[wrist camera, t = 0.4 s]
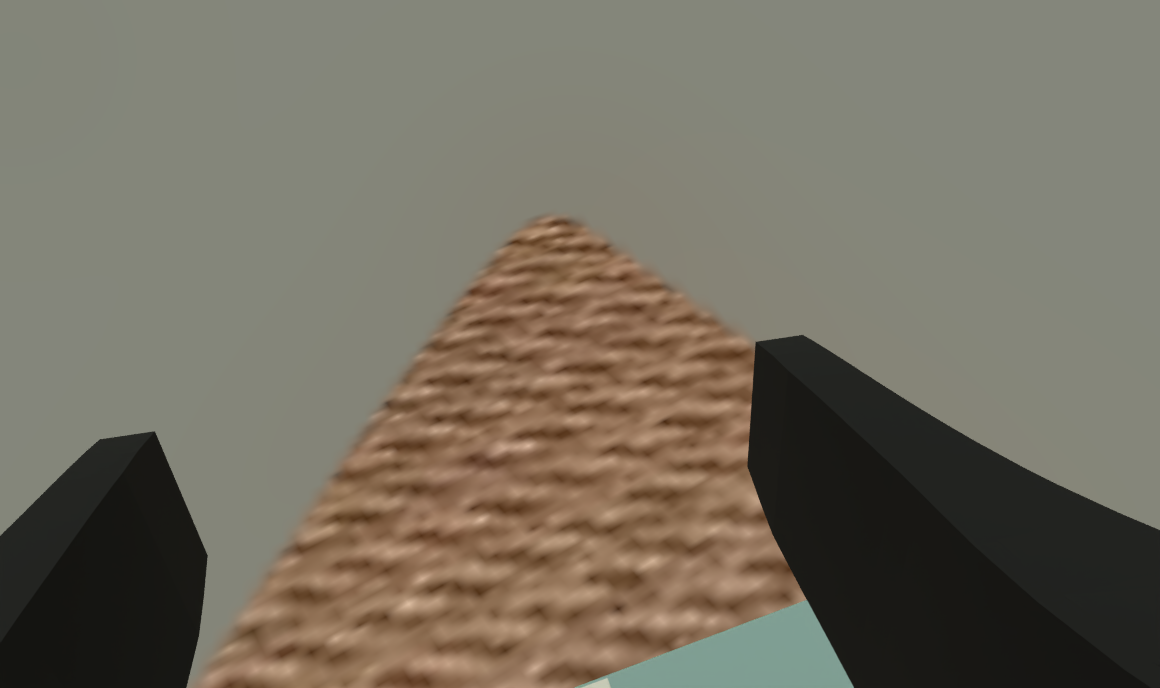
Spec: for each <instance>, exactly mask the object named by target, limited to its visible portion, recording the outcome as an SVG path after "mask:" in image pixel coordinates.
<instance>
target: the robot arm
mask: <svg viewBox="0 0 1160 688" xmlns="http://www.w3.org/2000/svg"><path fill="white" fill-rule="evenodd" d="M748 469H749V472H750V475H751V477H752V480H753V483H754V486H755V489H756V491H757V494H758V497H759V500H760V503H761V505H762V508H763V510H764V513H765V516H766V518H767V521H768V523H769V526H770V529H771V531H772V534H773V536H774V538H775V540H776V542H777V544H778V546H779V548H780V550H781V552H782V553H783V555H784V557H785V559H786V561H787V563H788V565H789V567H790V569H791V571H792V573H793V574H794V576H795V578H796V580H797V582H798V584H799V586H800V588H801V590H802V591H803V593H804V595H805V597H806V599H807V601H808V603H809V605H810V606H811V608H812V610H813V612H814V614H815V616H816V618H817V620H818V621H819V623H820V625H821V627H822V629H823V631H824V633H825V634H826V636H827V638H828V640H829V642H830V644H831V646H832V648H833V649H834V651H835V653H836V655H837V657H838V659H839V661H840V663H841V664H842V666H843V668H844V670H845V672H846V674H847V676H848V677H849V679H850V681H851V683H852V685H853V687H854V688H1160V530H1158V529H1156V528H1153V527H1151V526H1149V525H1146V524H1144V523H1141V522H1139V521H1137V520H1134V519H1132V518H1129V517H1127V516H1125V515H1122V514H1120V513H1117V512H1116V511H1113V510H1111V509H1109V508H1107V507H1105V506H1103V505H1100V504H1098V503H1096V502H1094V501H1092V500H1090V499H1087V498H1085V497H1083V496H1081V495H1079V494H1076V493H1074V492H1072V491H1070V490H1068V489H1066V488H1064V487H1062V486H1059V485H1057V484H1055V483H1053V482H1051V481H1049V480H1047V479H1045V478H1043V477H1041V476H1039V475H1037V474H1035V473H1033V472H1031V471H1029V470H1027V469H1025V468H1023V467H1022V466H1020V465H1018V464H1016V463H1014V462H1012V461H1010V460H1009V459H1007V458H1005V457H1003V456H1001V455H999V454H998V453H996V452H994V451H992V450H990V449H988V448H987V447H985V446H983V445H981V444H979V443H977V442H975V441H974V440H972V439H970V438H969V437H967V436H965V435H963V434H962V433H960V432H958V431H957V430H955V429H953V428H951V427H950V426H948V425H946V424H945V423H943V422H941V421H940V420H938V419H936V418H935V417H933V416H931V415H930V414H928V413H926V412H925V411H923V410H921V409H920V408H918V407H917V406H915V405H913V404H912V403H910V402H908V401H907V400H905V399H904V398H902V397H900V396H899V395H897V394H896V393H894V392H893V391H891V390H889V389H888V388H886V387H885V386H883V385H882V384H880V383H878V382H877V381H875V380H874V379H872V378H871V377H869V376H868V375H866V374H864V373H863V372H861V371H860V370H858V369H857V368H855V367H854V366H852V365H851V364H849V363H847V362H846V361H844V360H843V359H841V358H840V357H838V356H836V355H835V354H833V353H832V352H830V351H829V350H827V349H825V348H824V347H822V346H821V345H819V344H817V343H816V342H814V341H812V340H811V339H809V338H807V337H805V336H804V335H799V336H793V337H787V338H779V339H773V340H766V341H759V342H756V346H755V361H754V376H753V391H752V406H751V421H750V436H749V451H748ZM207 556H208V555H207V553H206V551H205V548H204V546H203V544H202V542H201V539H200V537H199V534H198V532H197V530H196V527H195V525H194V523H193V520H192V518H191V515H190V513H189V511H188V508H187V506H186V504H185V501H184V499H183V497H182V494H181V492H180V490H179V487H178V485H177V483H176V480H175V478H174V475H173V473H172V471H171V468H170V467H169V464H168V462H167V459H166V457H165V454H164V452H163V450H162V447H161V445H160V442H159V440H158V438H157V435H156V433H155V432H148V433H141V434H134V435H127V436H120V437H114V438H107V439H100V440H99V441H98V442H96V443H95V444H94V445H93V446H92V447H91V448H90V449H89V450H87V451H86V452H85V453H84V454H83V455H82V456H81V457H80V458H79V459H78V460H77V461H76V462H75V463H74V464H73V465H72V466H70V468H68V469H67V470H66V471H65V472H64V473H63V474H62V475H61V476H60V477H59V478H58V479H57V480H56V481H55V482H54V483H53V484H52V485H51V486H50V487H49V488H48V489H47V490H46V491H45V492H44V493H43V494H42V495H41V496H40V497H39V498H38V499H37V500H36V501H35V502H34V503H33V504H32V505H31V506H30V507H29V508H28V509H27V510H26V511H25V512H24V513H23V514H22V515H21V516H20V517H19V518H18V519H17V520H16V521H15V522H14V523H13V524H12V525H11V526H10V527H9V528H8V529H7V530H6V531H5V532H4V533H3V534H2V535H1V536H0V688H186V687H187V683H188V679H189V674H190V670H191V666H192V662H193V658H194V654H195V650H196V646H197V641H198V637H199V630H200V623H201V615H202V606H203V598H204V588H205V577H206V567H207Z"/></svg>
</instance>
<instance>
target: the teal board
mask: <svg viewBox="0 0 1160 688" xmlns="http://www.w3.org/2000/svg"><path fill="white" fill-rule="evenodd" d="M606 678H608V681H609V684H610V686H611V688H854V687H853V685H852V683H851V681H850V679H849V677H848V676H847V674H846V672H845V670H844V668H843V666H842V664H841V663H840V661H839V659H838V657H837V655H836V653H835V651H834V649H833V648H832V646H831V644H830V642H829V640H828V638H827V636H826V634H825V633H824V631H823V629H822V627H821V625H820V623H819V621H818V620H817V618H816V616H815V614H814V612H813V610H812V608H811V606H810V605H809V603H808V601H807V600H805V601H803V602H800V603H798V604H795V605H792V606H790V607H787V608H784V609H782V610H779V611H776V612H774V613H771V614H768V615H766V616H763V617H760V618H758V619H755V620H752V621H750V622H747V623H745V624H742V625H739V626H737V627H734V628H731V629H729V630H726V631H723V632H721V633H718V634H715V635H713V636H710V637H707V638H705V639H702V640H699V641H697V642H694V643H692V644H689V645H686V646H684V647H681V648H678V649H676V650H673V651H670V652H668V653H665V654H662V655H660V656H657V657H654V658H652V659H649V660H646V661H644V662H641V663H639V664H636V665H633V666H631V667H628V668H625V669H623V670H620V671H617V672H615V673H612V674H609V675H607V676H604V677H601V678H599V679H596V680H593V681H591V682H588V683H586V684H583V685H580V686H578V687H575V688H582V687H585V686H587V685H590V684H592V683H595V682H598V681H600V680H603V679H606Z"/></svg>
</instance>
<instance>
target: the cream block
mask: <svg viewBox="0 0 1160 688" xmlns="http://www.w3.org/2000/svg"><path fill="white" fill-rule="evenodd" d="M582 688H611V686H610V684H609V681H608V678H606V679H603V680H600V681H598V682H595V683H592V684H590V685H587V686H585V687H582Z"/></svg>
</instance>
